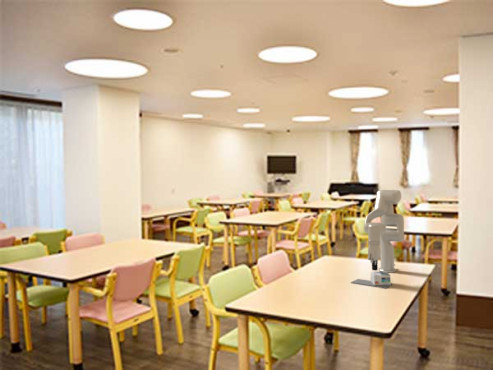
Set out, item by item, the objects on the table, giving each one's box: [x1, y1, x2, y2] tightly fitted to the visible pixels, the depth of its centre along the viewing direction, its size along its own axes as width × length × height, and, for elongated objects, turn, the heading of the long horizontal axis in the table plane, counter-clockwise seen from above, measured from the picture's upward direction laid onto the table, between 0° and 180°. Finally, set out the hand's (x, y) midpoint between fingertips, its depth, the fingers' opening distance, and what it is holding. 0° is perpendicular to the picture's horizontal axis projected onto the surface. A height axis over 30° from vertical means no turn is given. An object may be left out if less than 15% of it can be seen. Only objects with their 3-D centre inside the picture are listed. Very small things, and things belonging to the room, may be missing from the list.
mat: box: [350, 278, 393, 290], centre depth 275 cm, size 10×24×1 cm, turn 49°
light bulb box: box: [370, 271, 392, 285], centre depth 274 cm, size 11×7×11 cm
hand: (374, 270), depth 279 cm, fingers closed
